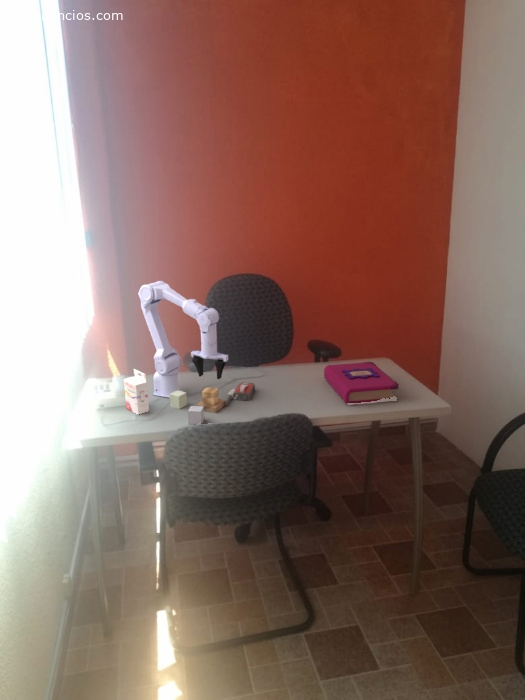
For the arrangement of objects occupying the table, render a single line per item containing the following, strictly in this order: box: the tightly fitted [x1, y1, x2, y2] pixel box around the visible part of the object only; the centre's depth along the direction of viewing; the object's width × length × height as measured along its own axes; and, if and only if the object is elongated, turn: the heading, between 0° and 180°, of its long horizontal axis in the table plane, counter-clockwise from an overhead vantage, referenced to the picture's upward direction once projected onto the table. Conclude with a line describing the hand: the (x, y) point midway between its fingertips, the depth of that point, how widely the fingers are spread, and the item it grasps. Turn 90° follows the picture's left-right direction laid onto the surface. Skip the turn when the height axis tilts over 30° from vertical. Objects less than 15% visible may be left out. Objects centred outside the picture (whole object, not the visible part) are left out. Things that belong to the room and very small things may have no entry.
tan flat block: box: [195, 398, 226, 414], centre depth 205 cm, size 8×8×2 cm
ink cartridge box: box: [123, 368, 150, 416], centre depth 201 cm, size 9×5×15 cm, turn 44°
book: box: [323, 361, 399, 405], centre depth 219 cm, size 21×28×8 cm
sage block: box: [168, 390, 188, 410], centre depth 206 cm, size 4×4×5 cm
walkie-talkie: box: [224, 382, 256, 406], centre depth 213 cm, size 9×4×20 cm
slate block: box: [187, 405, 205, 425], centre depth 193 cm, size 4×4×5 cm
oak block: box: [201, 386, 220, 406], centre depth 203 cm, size 4×4×5 cm
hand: (210, 377), depth 206 cm, fingers open, 7 cm apart
